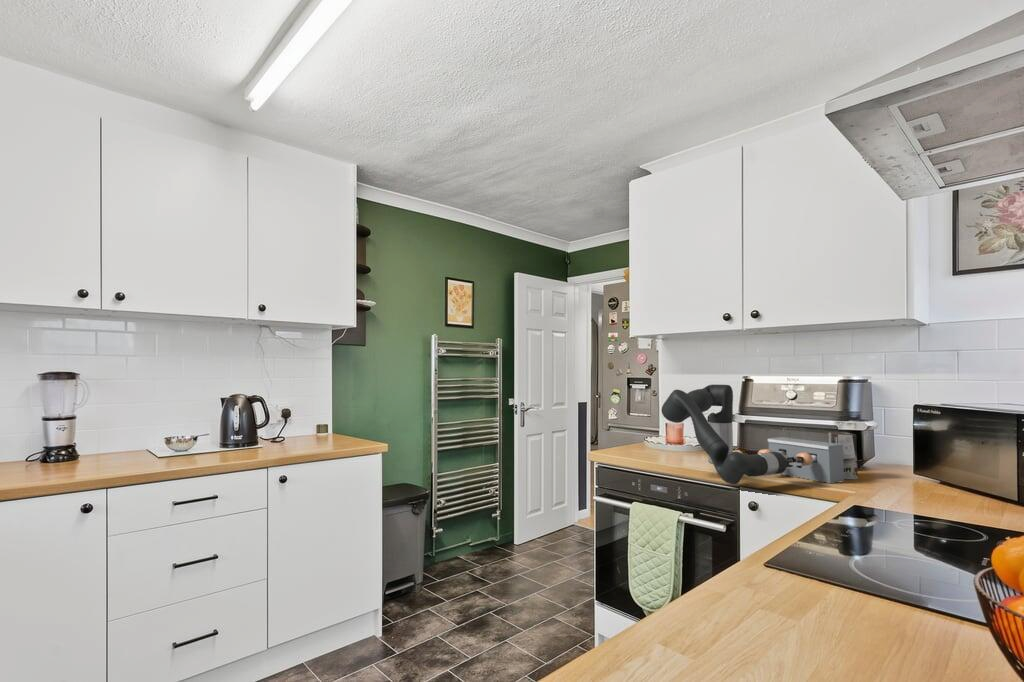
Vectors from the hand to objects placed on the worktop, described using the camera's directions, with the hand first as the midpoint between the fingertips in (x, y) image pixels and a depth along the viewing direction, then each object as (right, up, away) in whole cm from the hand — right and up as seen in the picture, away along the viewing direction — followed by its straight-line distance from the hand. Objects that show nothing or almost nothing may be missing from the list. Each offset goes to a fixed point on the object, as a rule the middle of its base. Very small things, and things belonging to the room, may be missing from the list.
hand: (801, 459), depth 190 cm
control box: (+7, -8, +10) cm, 14 cm away
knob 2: (+5, -2, +3) cm, 6 cm away
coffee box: (+20, -9, +9) cm, 24 cm away
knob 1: (-4, -3, +11) cm, 12 cm away
